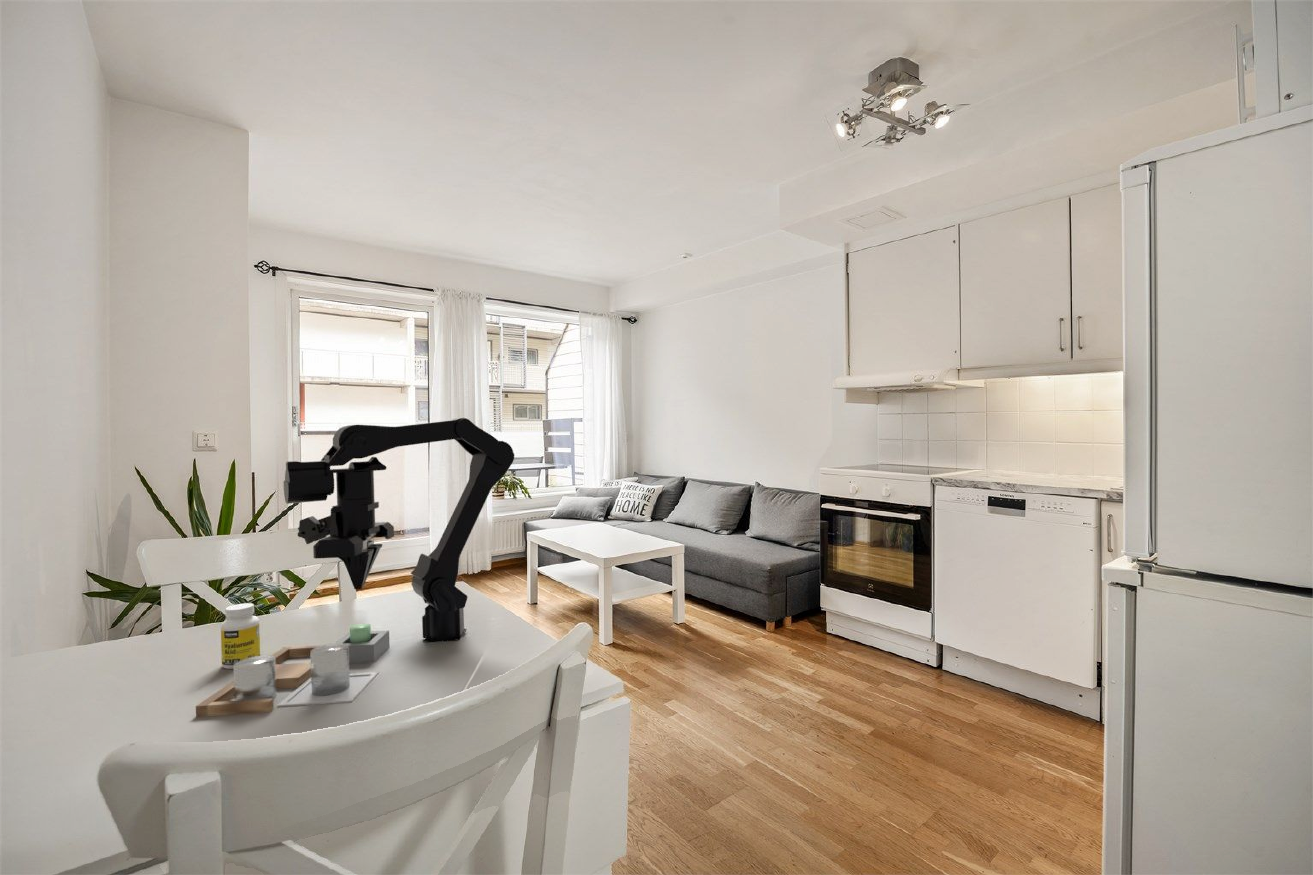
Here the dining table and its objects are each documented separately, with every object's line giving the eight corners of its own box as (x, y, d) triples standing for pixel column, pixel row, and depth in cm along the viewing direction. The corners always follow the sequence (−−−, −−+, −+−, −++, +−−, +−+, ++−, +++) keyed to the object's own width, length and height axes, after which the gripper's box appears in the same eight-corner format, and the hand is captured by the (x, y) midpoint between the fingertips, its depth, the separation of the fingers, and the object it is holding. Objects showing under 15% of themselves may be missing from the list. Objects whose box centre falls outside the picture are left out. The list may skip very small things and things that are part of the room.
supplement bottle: (219, 672, 97) (216, 613, 97) (225, 661, 102) (223, 604, 102) (258, 665, 100) (256, 607, 100) (262, 655, 105) (260, 600, 105)
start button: (373, 640, 104) (373, 623, 103) (366, 647, 100) (366, 629, 100) (354, 641, 103) (354, 624, 103) (346, 648, 100) (346, 630, 100)
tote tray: (378, 676, 94) (378, 671, 94) (351, 706, 84) (351, 700, 84) (312, 680, 93) (312, 675, 93) (277, 710, 83) (277, 705, 83)
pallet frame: (340, 655, 103) (340, 644, 103) (269, 716, 82) (269, 701, 82) (283, 658, 103) (282, 647, 103) (196, 720, 81) (195, 706, 81)
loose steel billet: (355, 680, 91) (354, 641, 91) (341, 695, 86) (339, 654, 86) (321, 682, 91) (320, 643, 91) (305, 697, 86) (303, 656, 86)
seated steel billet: (283, 694, 88) (282, 654, 88) (264, 710, 83) (263, 667, 83) (248, 696, 88) (246, 656, 88) (226, 712, 83) (225, 669, 83)
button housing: (389, 650, 106) (389, 630, 106) (374, 665, 99) (373, 644, 99) (348, 652, 105) (348, 632, 105) (330, 668, 98) (329, 646, 98)
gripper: (331, 494, 110) (334, 577, 110) (276, 506, 91) (279, 607, 92) (393, 492, 111) (396, 575, 111) (351, 504, 92) (354, 603, 93)
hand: (358, 589), depth 102 cm, fingers closed
